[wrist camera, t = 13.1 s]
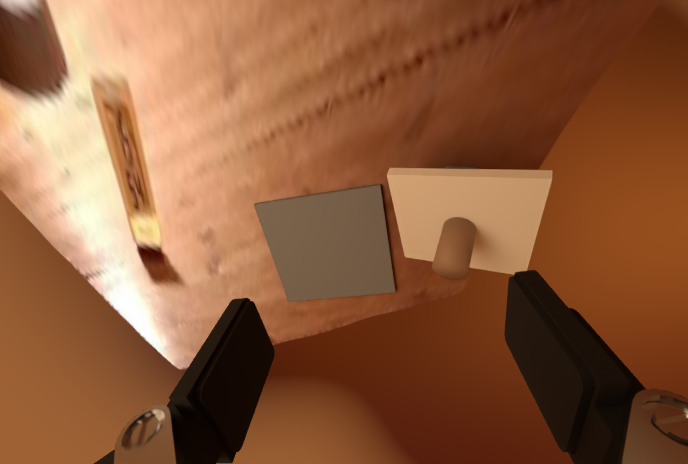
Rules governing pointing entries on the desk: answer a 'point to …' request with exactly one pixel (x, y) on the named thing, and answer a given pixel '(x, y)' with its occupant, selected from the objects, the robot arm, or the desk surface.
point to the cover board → (469, 217)
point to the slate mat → (329, 243)
